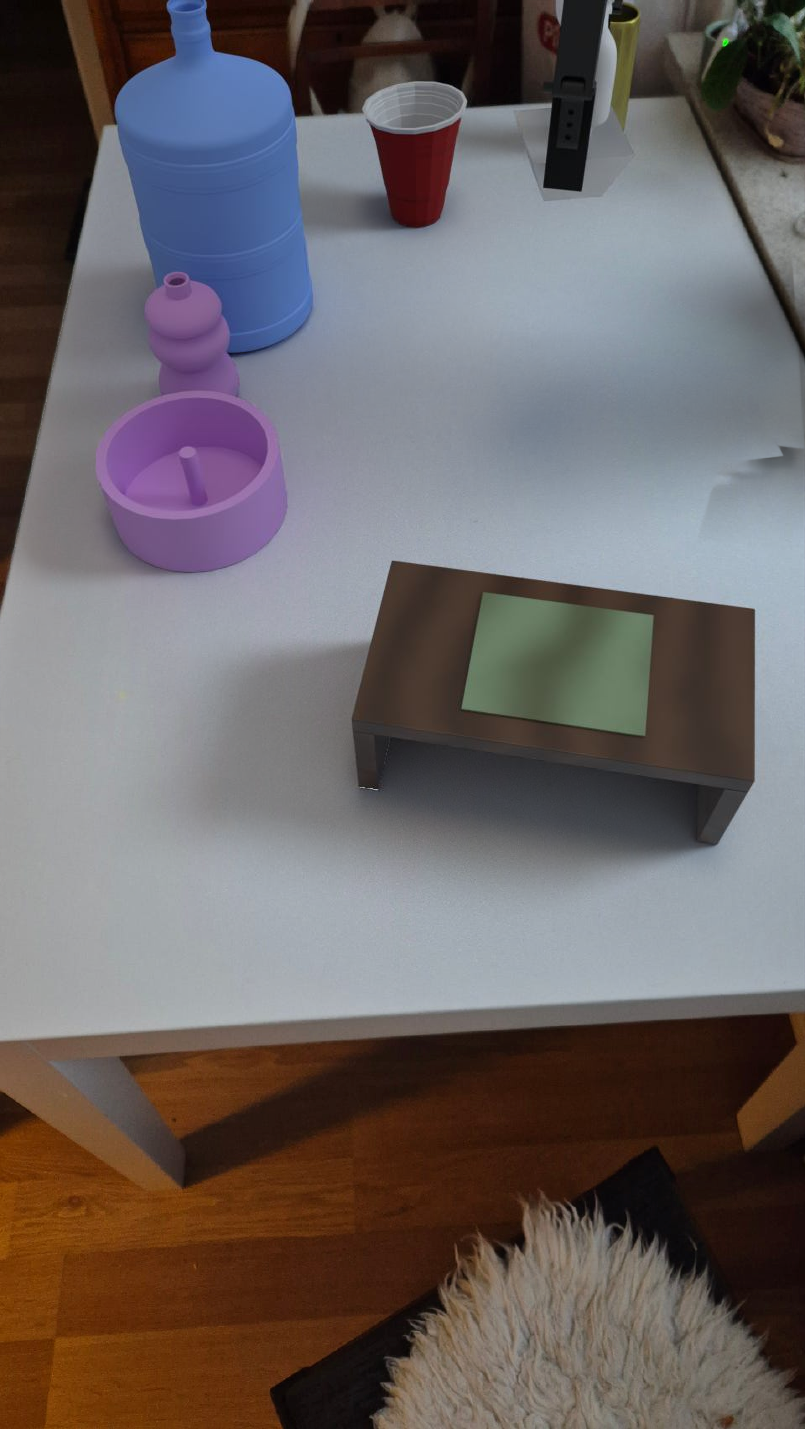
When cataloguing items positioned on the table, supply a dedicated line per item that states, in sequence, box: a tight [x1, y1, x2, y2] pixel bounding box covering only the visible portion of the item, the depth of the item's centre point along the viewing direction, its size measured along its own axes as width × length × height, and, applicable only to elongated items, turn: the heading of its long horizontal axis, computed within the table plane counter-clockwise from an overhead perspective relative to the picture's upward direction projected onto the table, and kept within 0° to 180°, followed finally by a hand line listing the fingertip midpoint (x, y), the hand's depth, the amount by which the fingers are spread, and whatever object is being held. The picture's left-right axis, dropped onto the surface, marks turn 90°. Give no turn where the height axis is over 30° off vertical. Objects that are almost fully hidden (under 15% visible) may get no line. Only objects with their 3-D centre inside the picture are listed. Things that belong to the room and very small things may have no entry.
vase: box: [608, 1, 642, 132], centre depth 114 cm, size 6×6×14 cm
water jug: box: [114, 0, 314, 354], centre depth 93 cm, size 16×16×28 cm
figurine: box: [513, 0, 636, 202], centre depth 69 cm, size 7×9×15 cm
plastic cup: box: [361, 81, 468, 228], centre depth 108 cm, size 11×11×12 cm
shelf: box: [351, 559, 756, 846], centre depth 72 cm, size 26×14×10 cm, turn 79°
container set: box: [94, 272, 288, 573], centre depth 87 cm, size 25×15×13 cm, turn 5°
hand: (570, 150), depth 73 cm, fingers closed on figurine, 9 cm apart
